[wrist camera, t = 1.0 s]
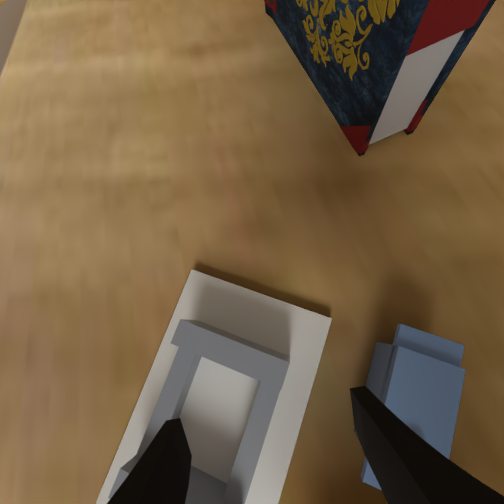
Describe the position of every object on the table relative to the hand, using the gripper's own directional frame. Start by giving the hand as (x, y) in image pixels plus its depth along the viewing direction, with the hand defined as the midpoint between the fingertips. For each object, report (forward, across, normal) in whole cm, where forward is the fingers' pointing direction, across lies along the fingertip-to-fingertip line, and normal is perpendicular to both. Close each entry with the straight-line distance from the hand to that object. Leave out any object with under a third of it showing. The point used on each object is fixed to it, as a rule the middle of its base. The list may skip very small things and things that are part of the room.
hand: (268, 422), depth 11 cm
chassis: (+10, +5, +8) cm, 13 cm away
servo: (+9, -9, +8) cm, 15 cm away
